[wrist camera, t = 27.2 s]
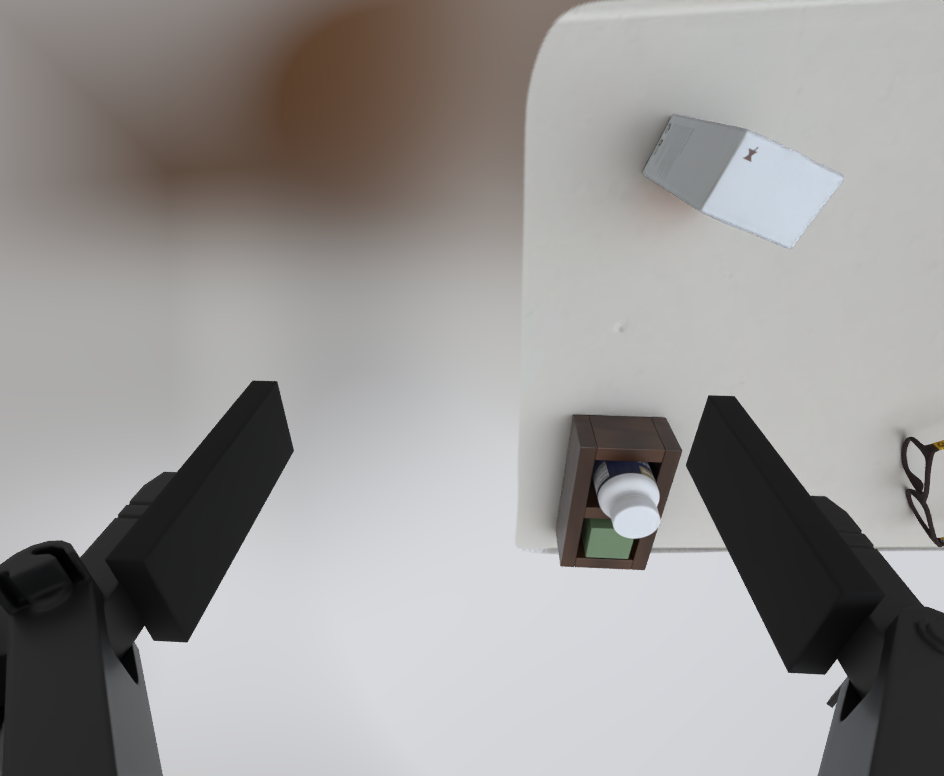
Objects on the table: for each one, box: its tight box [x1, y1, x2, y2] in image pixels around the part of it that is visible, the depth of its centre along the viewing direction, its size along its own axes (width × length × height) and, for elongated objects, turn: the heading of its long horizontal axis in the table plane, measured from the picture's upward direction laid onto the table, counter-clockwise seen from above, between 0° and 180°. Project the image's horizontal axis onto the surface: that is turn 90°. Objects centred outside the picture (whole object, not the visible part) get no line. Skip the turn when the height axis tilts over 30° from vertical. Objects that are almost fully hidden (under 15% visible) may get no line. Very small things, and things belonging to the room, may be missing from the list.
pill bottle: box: [592, 460, 660, 539], centre depth 45 cm, size 5×5×10 cm
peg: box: [581, 518, 633, 559], centre depth 51 cm, size 4×4×6 cm
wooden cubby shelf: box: [556, 415, 682, 570], centre depth 49 cm, size 9×16×5 cm, turn 179°
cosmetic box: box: [642, 114, 844, 249], centre depth 30 cm, size 6×4×12 cm
